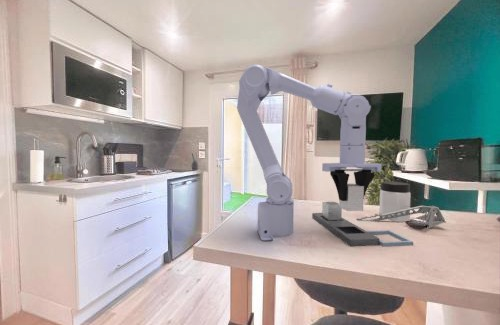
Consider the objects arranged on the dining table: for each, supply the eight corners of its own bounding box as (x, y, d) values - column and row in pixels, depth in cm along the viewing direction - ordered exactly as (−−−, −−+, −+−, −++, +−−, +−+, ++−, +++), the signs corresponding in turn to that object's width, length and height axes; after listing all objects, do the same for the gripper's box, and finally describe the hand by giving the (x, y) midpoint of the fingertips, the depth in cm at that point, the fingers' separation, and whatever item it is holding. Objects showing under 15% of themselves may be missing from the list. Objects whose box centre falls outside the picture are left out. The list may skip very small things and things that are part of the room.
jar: (395, 214, 79) (396, 181, 79) (415, 221, 71) (417, 184, 71) (373, 215, 78) (374, 181, 77) (391, 222, 70) (392, 185, 69)
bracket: (446, 223, 63) (430, 191, 64) (372, 249, 68) (357, 220, 68) (439, 220, 66) (423, 189, 67) (369, 245, 71) (355, 217, 71)
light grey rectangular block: (347, 211, 53) (348, 185, 53) (339, 207, 57) (339, 183, 57) (363, 210, 54) (363, 185, 54) (353, 206, 58) (354, 183, 58)
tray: (382, 250, 50) (382, 242, 50) (362, 238, 57) (362, 231, 57) (413, 249, 51) (413, 241, 50) (389, 236, 58) (389, 230, 58)
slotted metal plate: (350, 250, 50) (350, 239, 50) (312, 220, 72) (312, 213, 71) (379, 249, 50) (379, 238, 50) (332, 220, 72) (333, 212, 72)
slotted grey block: (328, 225, 64) (328, 204, 63) (322, 221, 68) (322, 201, 67) (341, 225, 64) (341, 204, 64) (334, 221, 68) (335, 201, 68)
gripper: (332, 145, 50) (330, 204, 51) (391, 145, 52) (389, 203, 52) (319, 145, 57) (318, 198, 58) (371, 146, 59) (370, 197, 59)
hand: (350, 200), depth 56 cm, fingers closed on light grey rectangular block, 4 cm apart
